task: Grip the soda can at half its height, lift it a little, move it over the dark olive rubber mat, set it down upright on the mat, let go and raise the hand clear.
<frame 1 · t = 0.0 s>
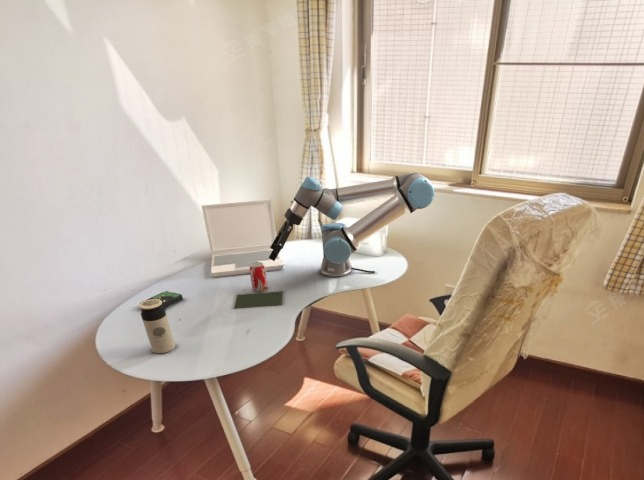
hand: (272, 254, 204), 15 cm above the table, tool tilted 35°, fingers open, 13 cm apart
travel mug: (164, 348, 168), on the table
soda can: (260, 290, 210), on the table
disk drive: (162, 304, 200), on the table
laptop: (247, 265, 238), on the table
mat: (259, 299, 201), on the table
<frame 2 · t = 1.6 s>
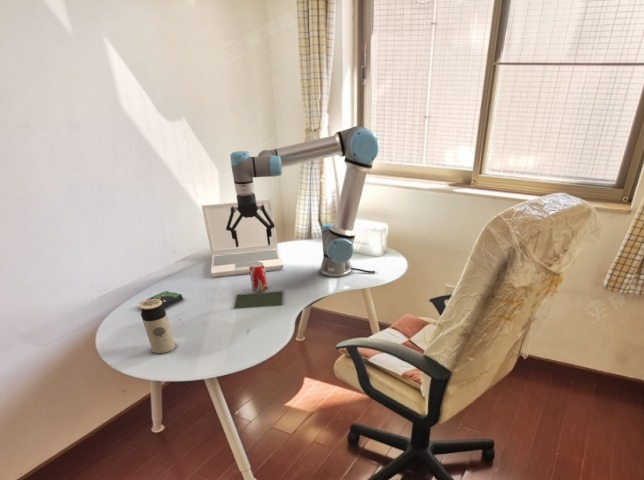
hand: (253, 245, 198), 21 cm above the table, tool pointing down, fingers open, 13 cm apart
nothing on the table moved.
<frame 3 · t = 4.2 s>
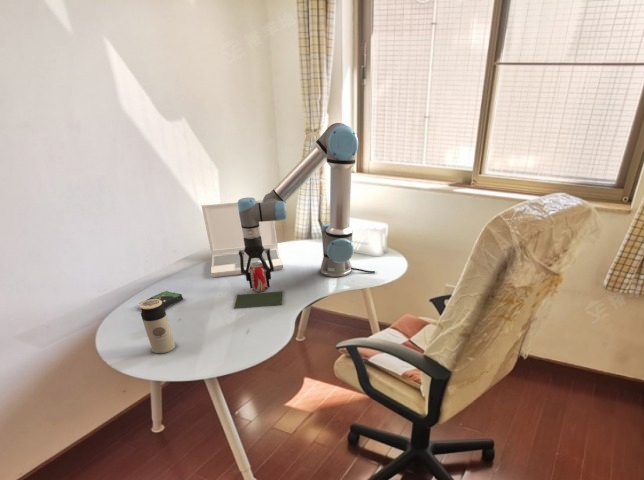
hand: (260, 286, 209), 2 cm above the table, tool pointing down, fingers closed on soda can, 7 cm apart
soda can: (260, 290, 210), on the table, touching gripper
everything else where it was.
when the fingers open (2 cm above the table, at t = 10.4 s): soda can stays where it is, resting on mat.
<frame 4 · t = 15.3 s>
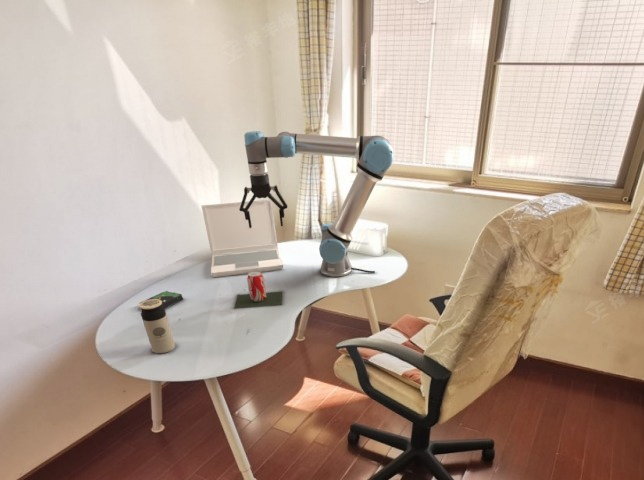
hand: (266, 226, 200), 27 cm above the table, tool pointing down, fingers open, 13 cm apart
soda can: (259, 300, 201), resting on mat
everything else where it was.
at the end: soda can inside the target area on the mat (0.0 cm from its centre), point 0.0 cm above the mat's base; soda can tilted 0°; soda can moved 11.0 cm from its start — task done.
